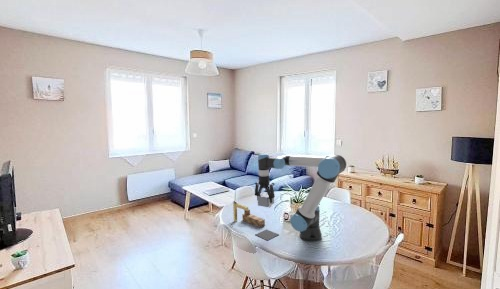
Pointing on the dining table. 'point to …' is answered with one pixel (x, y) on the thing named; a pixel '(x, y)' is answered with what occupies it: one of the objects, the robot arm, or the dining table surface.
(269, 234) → the mat
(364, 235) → the dining table surface
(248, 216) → the plane body
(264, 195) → the light grey block
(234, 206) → the tan wooden flat frame
